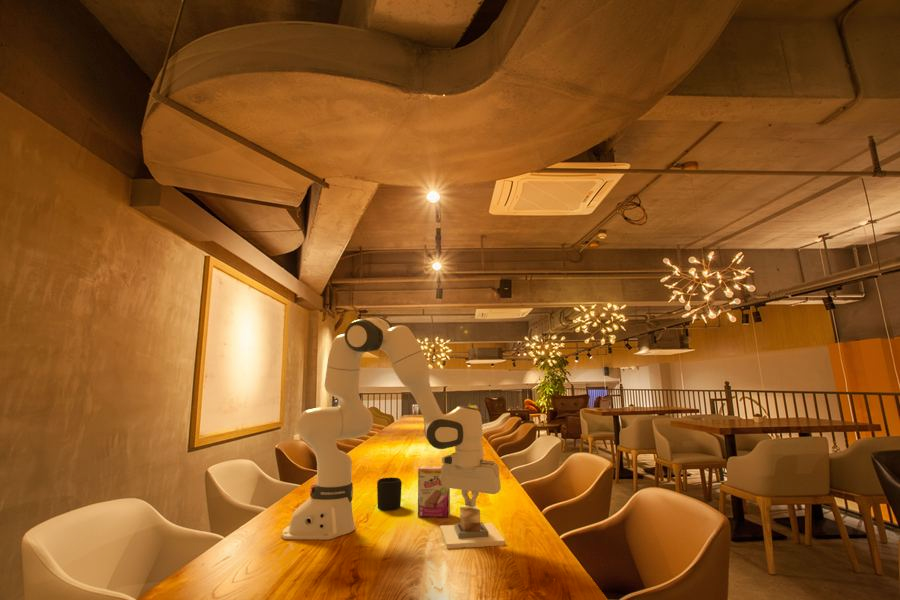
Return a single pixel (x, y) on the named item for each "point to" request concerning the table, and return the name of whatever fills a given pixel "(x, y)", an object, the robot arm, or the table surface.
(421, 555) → the table surface
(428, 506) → the candy bar box
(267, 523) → the table surface
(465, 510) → the tan rectangular block
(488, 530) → the base plate
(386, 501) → the pen holder
